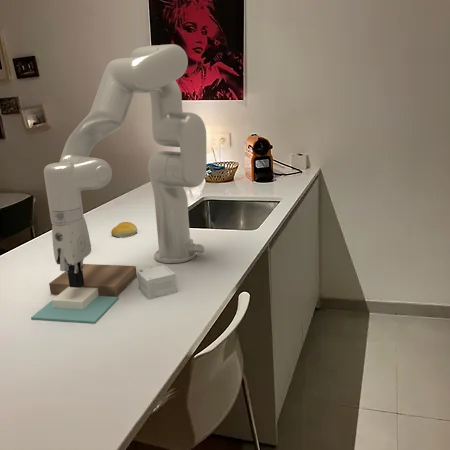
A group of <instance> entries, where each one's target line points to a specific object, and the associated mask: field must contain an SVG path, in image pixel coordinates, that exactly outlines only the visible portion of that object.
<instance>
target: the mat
mask: <svg viewBox="0 0 450 450" xmlns="http://www.w3.org/2000/svg"><path fill="white" fill-rule="evenodd" d="M118 300H119V296H117V297H110V296H98V297H97V298H95V299H94V300H93V301H92V302H91V303H90V304H89V305H88V306H87V307H86V308H85V309H84V310H80V309H64V308H53V305H52V300H50V302H48V303H46V305H44V307H42V308H41V309H39V310H38V311H37V312H36V313H34V314H33V315H32V316H31V320H35V321H50V322H51V321H53V322H64V323H65V322H66V323H80V324H81V323H82V324H96V323H97V322H98V321H99V320H100V319H101V318H102V317H103V316H104V315H105V314H106V313H107V311H108V310H109V309H111V308H112V306H114V304H116V302H118Z"/></svg>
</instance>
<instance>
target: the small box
mask: <svg viewBox="0 0 450 450" xmlns="http://www.w3.org/2000/svg"><path fill="white" fill-rule="evenodd" d="M136 273H137V276H136V278H137V287H138V290H139V291H140V292H141V293H142V294H144V295H145V296H146V297H147V299H149V300H151V299H155V298H158V297H162V296H166V295H171V294H173V293H174V294H175V293H177V292H178V290H177V289H178V288H177V287H178V286H177V278H176V273H175V272H174V271H172V270H171V269H170V268H169V267H167V266H166V265H165V264H162V265H158V266H152V267H149V268H146V269H145V268H144V269H141V270H140V269H139V270H136Z"/></svg>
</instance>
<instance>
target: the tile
mask: <svg viewBox="0 0 450 450" xmlns="http://www.w3.org/2000/svg"><path fill="white" fill-rule="evenodd" d="M98 296H99V294H98V288H86V287H81V288H75V287H68V288H66V289H65V290H64V291H63V292H61V293H60V294H59V295H56V296H55V297H53V298H52V299H51V301H52V305H53V308H64V309H80V310H84V309H85V308H86V307H87V306H88V305H89V304H90V303H91V302H92V301H93V300H94V299H95V298H97V297H98Z"/></svg>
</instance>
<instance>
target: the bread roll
mask: <svg viewBox="0 0 450 450" xmlns="http://www.w3.org/2000/svg"><path fill="white" fill-rule="evenodd" d="M137 232H138V228H137V226H136V225H135V224H134V223H133V222H129V221H123V222H120V223H118V224H117V225H116V226H114V227H113V228H112V229H111V232H110V234H111V236H113V237H115V238H118V237H122V238H128V236H129V237H132V236H134V235H135V234H136V233H137Z"/></svg>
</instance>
